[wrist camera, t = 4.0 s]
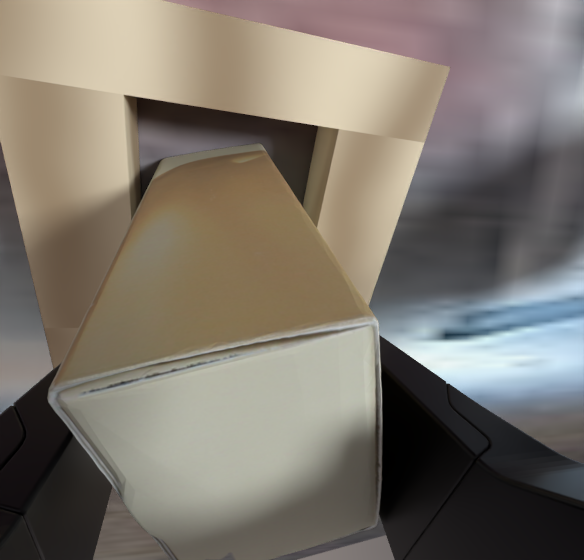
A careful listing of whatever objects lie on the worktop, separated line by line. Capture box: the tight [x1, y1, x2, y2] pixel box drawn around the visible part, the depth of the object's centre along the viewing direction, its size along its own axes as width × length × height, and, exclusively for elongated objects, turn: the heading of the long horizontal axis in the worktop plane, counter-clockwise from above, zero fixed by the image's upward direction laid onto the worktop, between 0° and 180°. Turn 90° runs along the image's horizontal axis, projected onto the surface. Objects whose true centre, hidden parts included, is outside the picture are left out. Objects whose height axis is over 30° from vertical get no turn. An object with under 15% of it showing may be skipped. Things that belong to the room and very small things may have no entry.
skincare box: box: [47, 143, 382, 560], centre depth 11 cm, size 6×4×12 cm
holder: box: [0, 0, 450, 368], centre depth 15 cm, size 14×14×2 cm
